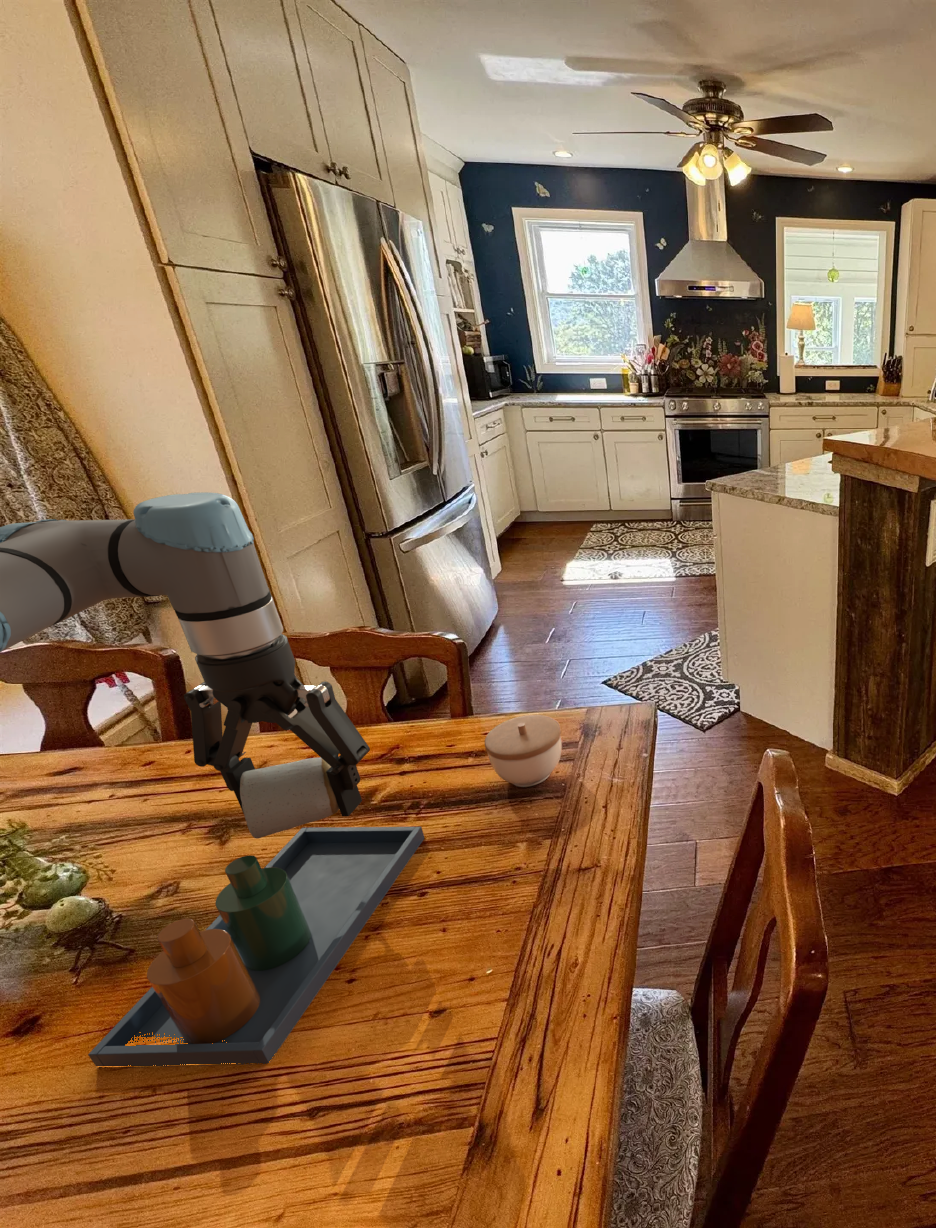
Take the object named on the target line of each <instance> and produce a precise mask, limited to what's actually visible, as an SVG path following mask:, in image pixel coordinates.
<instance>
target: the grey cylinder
mask: <svg viewBox="0 0 936 1228" xmlns="http://www.w3.org/2000/svg"><path fill="white" fill-rule="evenodd" d="M330 767H331V766H330V765H329V764H328V763H327V762H326V761H324V760H323V759H322V758H321V757H320V756H319V757H310V758H305V759H300V760H299V759H298V760H297V761H292V762H287V763H280V764H276V765H271V766H266V767H261V768H255V770H250V771H246V772H244V773H243V774H242V776H241V780H240V796H241V801H242V808H243V811H242V813H243V812H244V813H243V815H244V820H245V822H246V826H247V829H248V831H249V833H250V835H251V837H252V838H254V839H261V838H265V837H267V836H270V835H274V834H277V833H280V832H284V831H288V830H291V829H295V828H298V827H300V826H304V825H306V824H310V823H313V822H316V821H317V822H318V821H320V820H324V819H326V818H328V817H330V816H333V815H335V814H337V812H338V811H340V809H339V807H338V804H337V801H336V798H335V795H334V793H333V790H332V787H331V784H330V782H329V779H328V776H327V773H326V771H327V770H328V769H329V768H330Z"/></svg>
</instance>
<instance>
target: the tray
mask: <svg viewBox="0 0 936 1228" xmlns="http://www.w3.org/2000/svg"><path fill="white" fill-rule="evenodd" d="M424 840H425V834H424V832H423V827H422V826H339V827H338V826H337V827H336V826H332V827H331V826H329V827H328V826H327V827H323V826H321V827H319V826H318V827H317V826H316V827H301V828H300V829H299V831H297V833H295V835H293V836H292V838H291V839H290V840H289V841H288V842H287V843H286V844H285V845H284V846H283V847H282V848H281V849H280V850H279V852H278V853H277V854H276V855H275V856H274V857H272V859H271V860H270V861H268V863H267V864H266V866H264V868H270V867H275V868H280V869H282V870H284V871H285V872H286V873H287V876H288V878H289V880H290V883H291V885H292V888H293V890H294V892H295V895H296V897H297V899H298V902H299V904H300V907H301V909H302V911H303V914H304V916H305V918H306V921H307V923H308V926H309V928H310V930H311V938H310V940H309V942H308V944H307V945H306V947H305V948H304V949H303V950H302V951H301V952H300V953H299V954H298V955H297V956H295V957H294V958H293V959H291V960H290V961H288V962H286V963H284V964H282V965H280V966H278V967H275V968H273V969H269V970H264V971H254V970H250V969H248V968H247V967H246V966H245V967H246V969H247V971H248V973H249V975H250V977H251V979H252V981H253V983H254V985H255V987H256V989H257V991H258V993H259V995H260V1004H259V1007H258V1009H257V1011H256V1012H255V1014H254V1015H253V1016H252V1018H251V1019H250V1020H249V1021H248V1022H247V1023H246V1024H245V1025H244V1026H243V1027H241V1028H240V1029H239V1030H238V1031H236V1032H235V1033H233V1034H232V1035H230V1036H228V1037H226V1038H224V1039H222V1040H223V1042H222V1040H220V1041H218V1042H215V1043H213V1044H180V1040H181V1039H182V1040H181V1043H182V1041H183V1043H186V1042H185V1040H183V1038H180V1037H182V1036H181V1034H180V1032H179V1031H178V1029H177V1027H176V1026H175V1024H174V1022H173V1020H172V1019H171V1017H170V1015H169V1014H168V1012H167V1010H166V1009H165V1007H164V1005H163V1004H162V1002H161V1000H160V999H159V997H158V995H157V994H156V992H155V990H154V989H153V987H152V986H151V987H150V988H149V989H148V991H146V993H144V994H143V996H142V997H140V999H139V1000H138V1001H137V1002H136V1003H135V1004H134V1005H133V1006H132V1007H131V1008H130V1009H129V1011H127V1013H126V1014H125V1015H124V1016H123V1017H122V1018H121V1019H120V1020H119V1021H118V1022H117V1023H116V1024H115V1025H114V1027H113V1028H112V1029H110V1030H109V1032H108V1033H107V1034H106V1035H105V1036H104V1037H103V1038H102V1039H101V1040H100V1041H99V1042H98V1043H97V1044H96V1046H94V1047H93V1049H92V1050H91V1051H90V1052H89V1053H88V1054H87V1055H88V1057H89V1059H90V1060H91V1061H92V1063H93V1064H94V1066H95V1067H96V1066H128V1065H129V1066H130V1065H131V1066H153V1065H154V1066H155V1065H156V1066H163V1065H164V1066H163V1067H168V1066H167V1065H180V1064H181V1065H182V1064H183V1065H184V1064H185V1065H186V1064H221V1063H222V1064H223V1063H224V1064H225V1063H226V1064H227V1063H228V1064H229V1063H230V1064H231V1063H236V1065H239V1064H238V1063H241V1064H240V1065H247V1064H246V1063H249V1064H248V1065H251V1064H250V1063H257V1064H256V1065H261V1064H260V1063H263V1064H262V1065H264V1064H265V1063H266V1064H265V1065H268V1064H267V1063H269V1061H270V1060H271V1059H272V1060H273V1058H274V1057H275V1055H276V1054H277V1053H278V1051H279V1050H278V1049H280V1048H281V1047H282V1045H283V1044H284V1043H285V1041H286V1040H287V1038H288V1037H289V1035H290V1034H291V1032H292V1031H293V1029H294V1028H295V1026H296V1025H297V1024H298V1022H299V1020H300V1019H301V1018H302V1016H303V1015H304V1014H305V1012H306V1011H307V1009H309V1006H310V1005H311V1004H312V1002H313V1001H314V999H315V997H316V996H317V995H318V993H319V992H320V991H321V990H322V987H323V986H324V985H325V983H326V982H327V981H328V979H329V977H330V976H331V975H332V973H333V972H334V970H335V969H336V967H337V966H338V964H339V963H340V961H341V959H343V958H344V956H345V954H346V953H347V952H348V950H349V949H350V947H351V946H352V944H353V943H354V941H355V940H356V938H357V937H358V936H359V934H360V932H361V931H362V930H363V928H364V927H365V925H366V924H367V923H368V921H369V920H370V918H371V917H372V915H373V914H374V912H375V911H376V910H377V908H378V906H379V905H380V904H381V902H382V900H383V899H384V897H386V895H387V893H388V892H389V890H390V889H391V887H393V885H394V884H395V881H396V880H397V879H398V877H399V876H400V875H401V874H402V872H403V870H404V869H405V868H406V866H407V864H408V863H409V862H410V860H411V859H412V857H413V856H414V854H415V853H416V851H417V850H418V848H419V847H420V845H421V844H422V843H423V841H424ZM209 929H221V930H224V931H226V932H228V930H227V928H226V926H225V924H224V921H223V919H222V917H221V915H220V914H219V915H218V916H217V917H216V918H215V919H214V920H213V921H212V922H211V923H210V924H209V925H208V927H207V928H206V929H205V930H209ZM228 933H229V932H228ZM229 935H230V934H229ZM230 937H231V936H230ZM231 939H232V938H231ZM232 941H233V940H232ZM233 943H234V942H233ZM234 945H235V944H234ZM235 947H236V946H235ZM236 949H237V948H236ZM237 951H238V950H237ZM238 953H239V952H238ZM239 955H240V954H239ZM240 957H241V956H240ZM241 959H242V958H241ZM242 961H243V960H242ZM243 963H244V962H243ZM244 965H245V964H244ZM139 1032H141V1033H139ZM152 1032H153V1035H152ZM147 1033H148V1035H147ZM149 1033H150V1035H149ZM164 1033H165V1035H164ZM144 1034H146V1035H145V1036H144ZM157 1034H158V1036H157ZM159 1034H160V1036H159ZM174 1034H175V1035H174ZM134 1035H135V1037H137V1036H138V1037H139V1036H140V1035H141V1037H146V1038H147V1037H152V1036H153V1037H154V1035H155V1037H156V1038H157V1037H160V1038H161V1037H162V1038H163V1037H164V1036H165V1037H172V1039H173V1038H174V1037H175V1039H176V1037H177V1038H179V1041H178V1039H177V1042H178V1043H179V1044H175V1045H136V1046H125V1044H127V1043H128V1041H130V1040H131V1038H132V1037H133V1038H132V1040H133V1041H134ZM142 1035H143V1036H142ZM169 1035H170V1036H169ZM156 1038H155V1039H156ZM135 1039H136V1038H135ZM143 1039H144V1038H143ZM158 1039H159V1038H158ZM168 1039H169V1038H168ZM168 1039H167V1041H168ZM138 1040H139V1038H138ZM153 1040H154V1039H153ZM170 1040H171V1038H170ZM224 1040H225V1041H224ZM148 1041H149V1040H148ZM150 1041H151V1040H150ZM165 1041H166V1040H165ZM173 1041H174V1040H172V1043H173ZM175 1041H176V1040H175ZM135 1042H136V1041H135ZM137 1042H138V1041H137ZM143 1042H144V1041H143ZM160 1042H161V1040H160ZM162 1042H163V1040H162ZM177 1042H176V1043H177ZM226 1042H227V1043H226ZM130 1043H131V1042H130ZM132 1043H133V1042H132ZM155 1043H156V1041H155ZM164 1043H165V1042H164ZM167 1043H168V1042H167ZM275 1053H276V1054H275ZM274 1054H275V1055H274ZM273 1056H274V1057H273ZM272 1057H273V1058H272ZM272 1060H271V1061H272ZM271 1061H270V1062H271ZM244 1063H245V1064H244ZM258 1063H259V1064H258ZM269 1064H270V1063H269ZM165 1065H166V1066H165Z"/></svg>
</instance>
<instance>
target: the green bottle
mask: <svg viewBox="0 0 936 1228" xmlns="http://www.w3.org/2000/svg"><path fill="white" fill-rule="evenodd" d="M224 873H225V875H226V877H227V879H228V881H229V883H228V884H226V886H225V887H223V889H221V891H220V892H219V893H218V895H217V896H216V899H215V903H214V904H215V907H216V909H217V912H218V914H219V915H221V917H222V919H223V921H224V924H225V926H226V928H227V930H228V932H229V934H230V936H231V938H232V940H233V942H234V944H235V946H236V948H237V950H238V952H239V954H240V956H241V958H242V960H243V962H244V964H245V966H246V967H247V968H248V969H250V970H254V971H264V970H269V969H273V968H275V967H278V966H280V965H282V964H284V963H286V962H288V961H290V960H291V959H293V958H294V957H295V956H297V955H298V954H299V953H300V952H301V951H302V950H303V949H304V948H305V947H306V945H307V944H308V942H309V940H310V938H311V930H310V928H309V926H308V923H307V921H306V918H305V916H304V914H303V911H302V909H301V907H300V904H299V902H298V899H297V897H296V895H295V892H294V890H293V888H292V885H291V883H290V880H289V878H288V876H287V873H286V872H285V871H284V870H282V869H280V868H275V867H270V868H265V867H263V868H262V866H261V865H260V862H259V860H258V858H257V857H256V856H255V855H250V854H249V855H244V856H241V857H237V858H236V859H234V860H232V861H231V862H229V863H228V864H227V866H226V867H225V869H224Z"/></svg>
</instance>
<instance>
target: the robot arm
mask: <svg viewBox="0 0 936 1228" xmlns="http://www.w3.org/2000/svg"><path fill="white" fill-rule="evenodd" d="M133 517H134V518H133V519H83V520H81V519H79V520H78V519H77V520H76V519H75V520H72V519H71V520H67V519H56V518H50V519H40V520H36V521H28V522H15V523H9V524H5V525H2V526H0V653H2V652H4V651H6V650H8V649H10V648H12V647H13V646H15V645H17V644H19V643H21V642H22V641H25V640H26V639H29V638H30V637H32V636H34V635H36V634H38V633H41V632H42V631H44V630H46V629H48V628H51V627H53V626H55V625H57V624H60V623H62V622H64V621H66V620H67V619H69V618H71V617H73V616H75V615H77V614H80V613H81V612H84V611H86V610H87V609H90V608H92V607H93V606H95V605H98V604H100V603H101V602H104V601H107V600H112V599H126V598H127V599H128V598H147V597H160V596H167V598H168V600H169V603H170V604H171V607H172V609H173V611H174V613H175V615H176V617H177V619H178V622H179V624H180V627H181V629H182V631H183V634H184V637H185V640H186V642H187V644H188V647H189V649H190V651H191V653H193V654H195V657H194V661H195V663H196V665H197V667H198V670H199V672H200V675H201V677H202V679H203V682H202V683H201V682H200V684H198V685H196V686H195V687H194V688H192V689H190V690H189V691H188V692H186V693H184V694H183V699H184V701H185V703H186V705H187V707H188V709H189V711H190V717H191V732H192V746H193V747H192V748H193V762H194V764H195V765H196V766H198V767H202V768H204V767H206V766H208V765H209V766H210V767H211V766H212V767H213V768H214V769H215V770H216V771H218V772H220V774H221V776H222V779H223V780H224V783H225V785H226V788H227V789H228V790H229V791H230V792H233V794H234V795H235V797H236V800H237V801H238V804H239V806H240V809H241V811H242V814H244V812H243V808H242V801H241V796H240V780H241V776H242V774H243V773H244V772H246V771H250V770H255V769H256V768H255V765H254V763H253V760H252V758H251V757H243V756H244V755H245V754H246V753H247V751H245V750H244V749H245V747H246V743H247V741H248V737H249V734H250V732H251V728H252V726H253V724H257V723H260V722H264V723H270V724H276V725H277V726H279V727H280V728H281V729H283V730H285V731H291V732H292V733H293V734H294V735H295V736H296V737H297V738H298V739H299V740H301V742H303V744H305V745H306V746H307V747H309V748H310V750H312V751H313V752H314V753H315V754H316V755H317V756H318V757H319V758H320V757H321V758H322V759H323V760H324V761H326V762H327V763H328V764H329V765H330V766H331V767H330V768H329V769H328V770H327V771H326V773H327V776H328V779H329V782H330V784H331V787H332V790H333V793H334V795H335V798H336V801H337V804H338V807H339V812H340V815H341V817H350V816H351V814H353V812H354V811H355V810H356V809H357V808H358V806H359V805H360V804H361V803H362V802H363V799H362V796H361V793H360V790H359V787H358V785H359V784H360V783H361V776H360V773H359V770H358V766H357V765H358V764H359V763H360V762H361V761H362V760H363V759H364V758H365V756H366V755H368V753H369V752H370V751H371V748H370V746H369V745H368V743H367V742H366V740H365V739H364V737H363V736H362V735H361V733H360V732H359V730H358V729H357V728H356V726H355V725H354V723H353V722H352V720H351V719H350V718H349V716H348V714H347V713H346V712H345V710H344V709H343V707H342V706H341V704H339V702H338V701H337V699H336V696H335V692H334V688H333V685H332V684H331V683H330V682H329V681H326V680H325V681H321V682H320V683H319V684H318V685H309V684H306V685H304V684H303V683H302V681H300V680H299V679H298V678H297V676H296V674H295V673H296V672H295V671H296V670H295V668H296V660H295V656H294V653H293V650H292V648H291V645H290V643H289V639H288V637H287V636H286V635H285V634H283V632H284V626H283V624H282V620H281V618H280V614H279V612H278V610H277V607H276V605H275V604H276V603H275V601H274V597H273V595H272V594H271V590H270V588H269V587H268V586H269V585H268V583H267V580H266V576H265V574H264V572H263V568H262V564H261V562H260V558H259V555H258V552H257V549H256V547H255V543H254V540H255V538H254V535H253V533H252V532H251V531H250V529H249V527H248V525H247V523H246V521H245V517H244V516H243V514H242V511H241V508H240V505H238V503H237V502H236V501H235V500H234V499H233V498H232V497H230V496H228V495H225V494H222V493H219V492H218V493H217V492H209V491H208V492H207V491H206V492H203V491H202V492H189V493H176V494H174V493H173V494H168V495H161V496H158V497H154V498H149V499H147V500H143V501H141V502H139V503H138V504H137V505H135V507H134V509H133ZM222 705H223V706H224V707H225V708H226V710H227V713H226V715H225V719H224V720H223V718H222V717H223V716H222ZM295 710H296V713H295V714H294V715H293V716H291V717H290V715H291V714H293V713H294V711H295ZM223 721H224V722H223ZM223 726H224V731H223ZM241 757H243V758H241Z"/></svg>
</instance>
